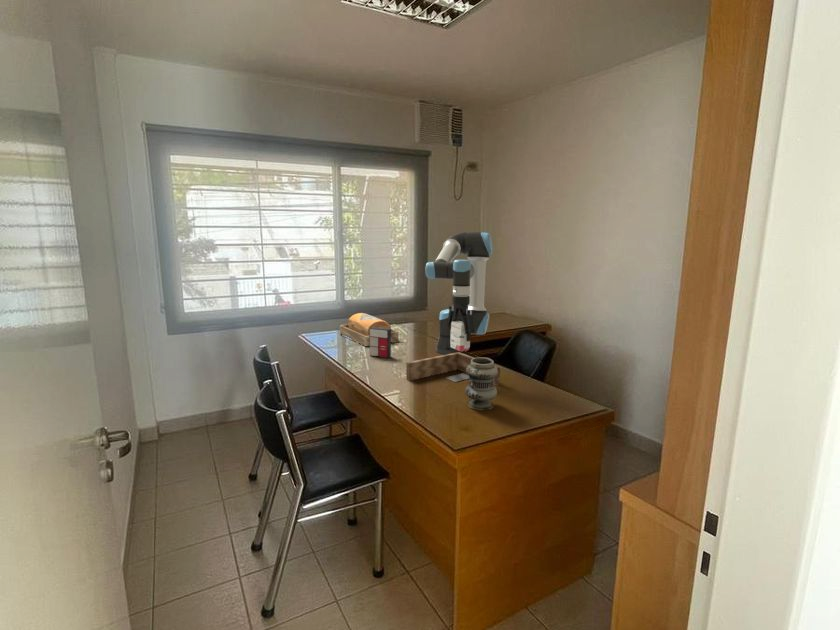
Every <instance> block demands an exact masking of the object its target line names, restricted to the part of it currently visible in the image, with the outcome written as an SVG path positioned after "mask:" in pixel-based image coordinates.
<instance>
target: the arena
mask: <svg viewBox="0 0 840 630" xmlns="http://www.w3.org/2000/svg"><path fill="white" fill-rule="evenodd" d="M473 358H475V357H473V356H470V355H468V354H466V353H463V352H462V353H460V352H456V353H451V354H441V355H436V356H431V357H427V358H422V359H417V360H412V361H411V360H410V361H407V362H405V363H406V374H405V375H406V378H405V379H406V380H407V381H408V382H409V381H410V382H411V381H414V379H415V380H419V379H423V378H427V377H432V376H436V374H437V375H440V373H441V374H445V373H449V372H448V371H450V372H453V370H454V371H457V369H458V371H460V370H461V372H462V371H463V372H462V373H458V374H457V373H456V374H453V375H450V376H445V377H444V379H446V380H449V381H450V380H451V382H452V381H453V382H452V383H458V381H459V382H462V380H463V381H467V380H469V375H468V374H467V372H466V368H467V366H468V365H470V363H471V360H472V359H473ZM494 366H495V367H496V368H497V370H498V373H497V375H496V376H495V377H494V386H495V387H496V386H500V384H501V383H500V382H501V381H500V380H501V366H499V365H496V364H494ZM444 372H445V373H444ZM431 375H432V376H431Z"/></svg>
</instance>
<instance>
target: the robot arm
mask: <svg viewBox="0 0 840 630" xmlns="http://www.w3.org/2000/svg"><path fill="white" fill-rule="evenodd" d="M492 241H493V240H492V236H491V234H490V233H489V232H476V231H475V232H473V231H472V232H467V231H464V232H463V231H462V232H461V231H460V232H459V233H455V234H453V235H451V236H449V237H448V238H446V240H445V241H444V242H443V245H442V249H441V250H440V252H439V254H438V255H437V257H436V258H435V260H434V261H428V262H427V263H426V264H425V268H424V269H425V270H424V271H425V272H424V273H425V277H426V278H427V279H434V280H436V279H437V280H441V279H442V280H452V298H451V299H452V300H451V301H452V303H451V304H452V305H450V306H449V305H448V308H447V309H443V310H441V311H440V312H439V319H438V324H439V325H438V339H437V343H436V345H435V352H437V353H439V354H441V355H446V354H451V353H456V352H460V353H461V352H462V353H463V352H464V351H458V350H456V349H454V348H451V347H450V345H451V323H452V322H455V321H461V322H463V324H464V328H465V332H466V333H465V334H464V348H469V349H470V347H471V340H472V338H471V337H472V335H485V334H486V332H487V330H488V326H489V322H490V321H489V320H490V313H488V311H487V309H486V307H485V293H486V291H485V290H486V272H487V269H486V268H487V261H488V260H490V256H491V255H493V242H492ZM458 255H467V256H466V257H467V259H455V258H456V257H457V256H458ZM454 259H455V260H454Z"/></svg>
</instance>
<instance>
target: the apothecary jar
mask: <svg viewBox="0 0 840 630" xmlns="http://www.w3.org/2000/svg"><path fill="white" fill-rule="evenodd" d="M494 365H495V363H494V360H493V359H491V358H489V357H483V356H482V357H481V356H480V357H474V358H473V359H472V360H471V363H470V365H468V366H467V368H466V372H467V373H466V374H467V375H469V379H468V384H467V386H465V390H464V391H465V395H466V396H467V397H468V398H470V399H471V400H469V401H468V402H467V406H468V407H469V409H472V410H476V411H486V410H491V409H493V408H494V403H493V402H491V401H492V400H493V399H494V398H495V397H497V395H498V390H497V388H496V386H495V385H494V377H495V376H496V375H497V373H498V370H497V368H496V367H495V366H494Z"/></svg>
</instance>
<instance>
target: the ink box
mask: <svg viewBox="0 0 840 630" xmlns="http://www.w3.org/2000/svg"><path fill="white" fill-rule="evenodd" d="M465 333H466V332H465V328H464V324H463V322H461V321H455V322H452V323H451V345H450V347H451V348H454V349H456V350H458V351H463V352H466V351H470V348H464V334H465Z"/></svg>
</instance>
